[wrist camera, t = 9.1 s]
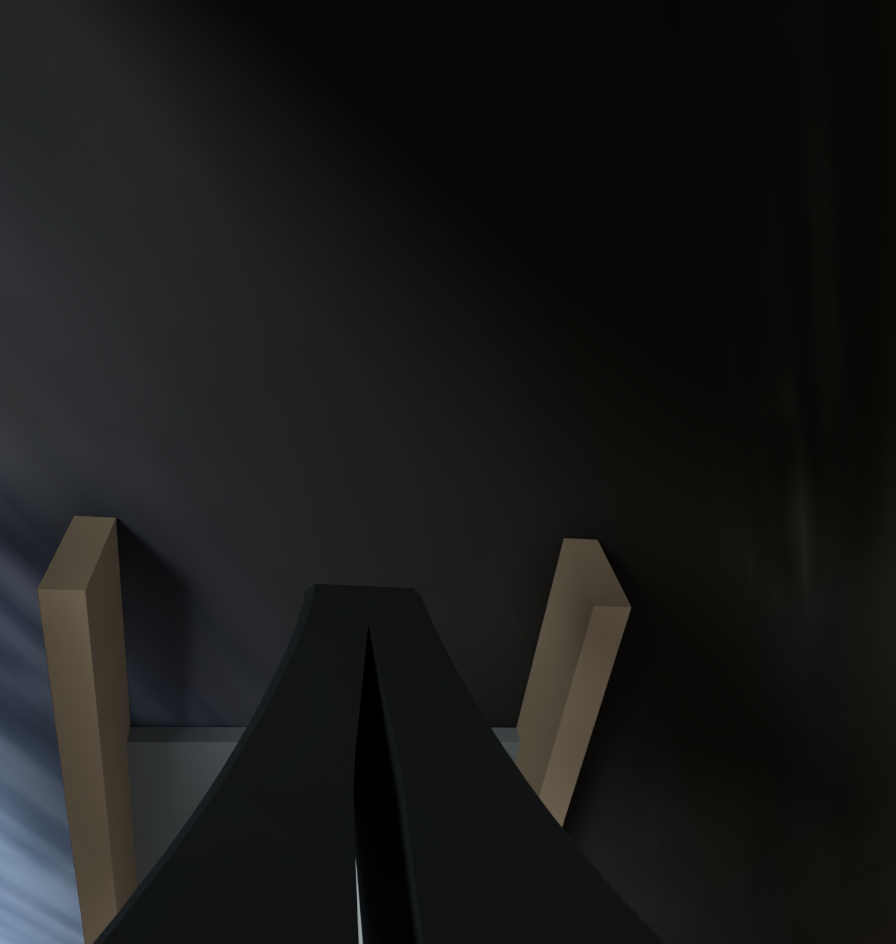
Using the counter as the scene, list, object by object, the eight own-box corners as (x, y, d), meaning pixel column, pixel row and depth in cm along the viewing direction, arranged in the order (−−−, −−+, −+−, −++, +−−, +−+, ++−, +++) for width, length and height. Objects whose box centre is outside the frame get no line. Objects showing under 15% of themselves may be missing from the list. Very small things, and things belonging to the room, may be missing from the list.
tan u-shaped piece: (121, 980, 30) (101, 1070, 28) (74, 515, 20) (36, 589, 18) (481, 962, 33) (493, 1043, 30) (597, 539, 23) (631, 607, 20)
